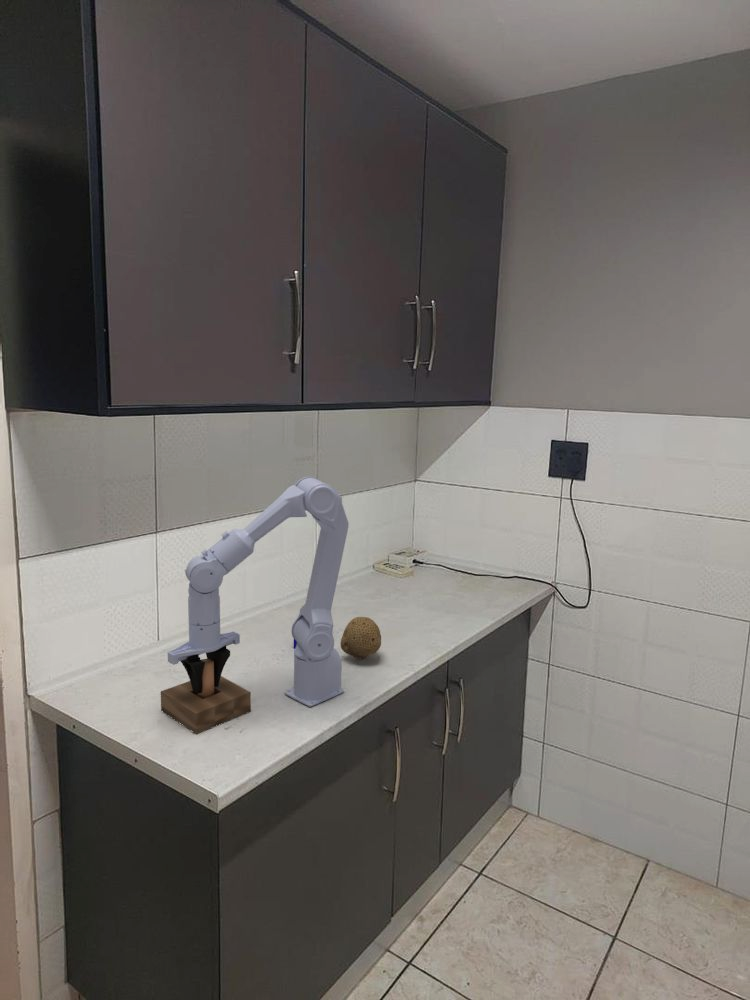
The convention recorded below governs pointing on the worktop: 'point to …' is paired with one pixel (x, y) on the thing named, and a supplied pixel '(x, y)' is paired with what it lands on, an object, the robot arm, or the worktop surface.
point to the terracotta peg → (207, 679)
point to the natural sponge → (361, 638)
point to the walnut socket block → (205, 705)
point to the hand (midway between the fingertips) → (205, 688)
